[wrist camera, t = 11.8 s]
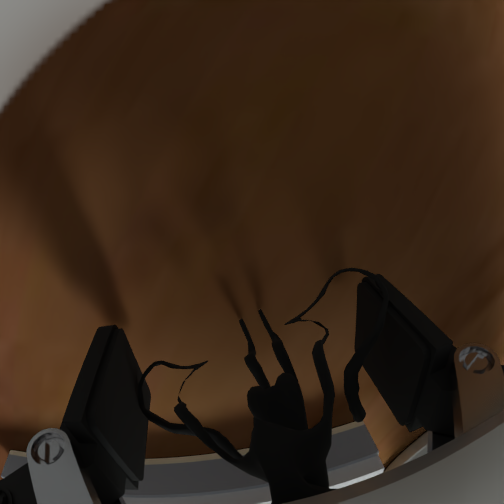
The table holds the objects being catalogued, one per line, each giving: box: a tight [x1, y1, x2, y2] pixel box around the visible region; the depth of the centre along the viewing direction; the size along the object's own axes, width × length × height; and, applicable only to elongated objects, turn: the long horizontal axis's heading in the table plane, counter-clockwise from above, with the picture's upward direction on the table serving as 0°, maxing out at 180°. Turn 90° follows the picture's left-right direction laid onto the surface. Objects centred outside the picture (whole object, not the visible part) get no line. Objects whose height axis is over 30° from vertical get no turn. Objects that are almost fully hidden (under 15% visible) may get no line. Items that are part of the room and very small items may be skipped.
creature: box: [139, 268, 389, 504], centre depth 8 cm, size 8×5×8 cm
